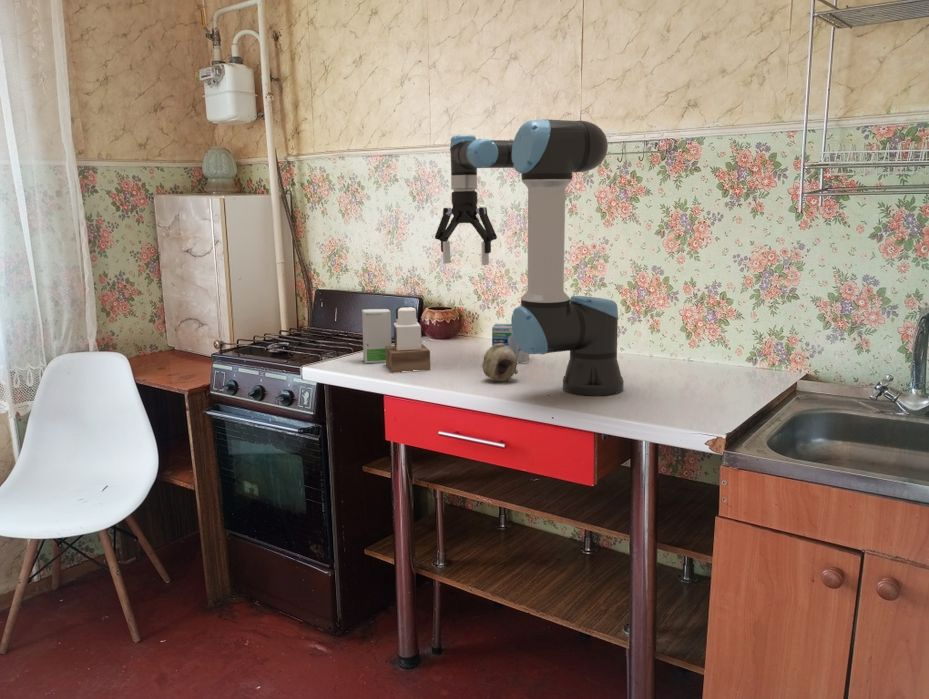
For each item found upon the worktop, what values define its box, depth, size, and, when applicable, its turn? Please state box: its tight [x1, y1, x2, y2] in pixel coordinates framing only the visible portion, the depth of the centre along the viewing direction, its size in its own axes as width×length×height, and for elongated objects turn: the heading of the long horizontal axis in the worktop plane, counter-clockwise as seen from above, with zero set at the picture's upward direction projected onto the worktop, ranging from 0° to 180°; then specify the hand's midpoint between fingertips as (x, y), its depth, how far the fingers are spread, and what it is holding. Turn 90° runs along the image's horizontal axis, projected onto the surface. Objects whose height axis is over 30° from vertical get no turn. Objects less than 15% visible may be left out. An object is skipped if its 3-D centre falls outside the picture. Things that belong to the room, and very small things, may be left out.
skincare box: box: [361, 308, 392, 364], centre depth 226 cm, size 8×7×16 cm
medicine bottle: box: [393, 306, 422, 351], centre depth 215 cm, size 7×7×12 cm
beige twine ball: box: [481, 343, 519, 383], centre depth 198 cm, size 10×8×10 cm
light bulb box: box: [491, 323, 530, 363], centre depth 223 cm, size 11×7×11 cm, turn 80°
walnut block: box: [385, 343, 431, 374], centre depth 217 cm, size 11×11×6 cm
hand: (465, 264), depth 222 cm, fingers open, 13 cm apart
